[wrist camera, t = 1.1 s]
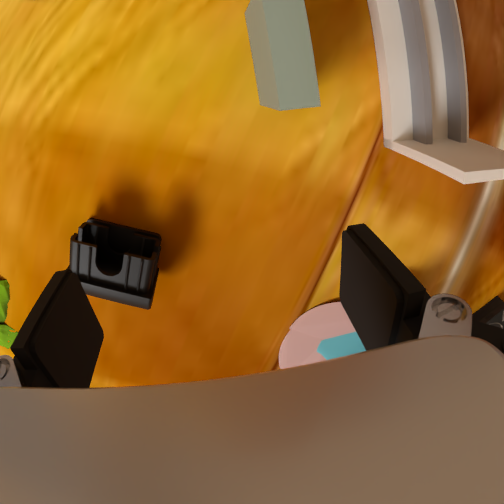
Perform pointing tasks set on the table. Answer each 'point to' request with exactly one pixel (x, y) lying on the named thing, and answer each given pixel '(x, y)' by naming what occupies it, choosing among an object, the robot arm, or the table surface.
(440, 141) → the cabinet base
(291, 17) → the door panel
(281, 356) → the flower arrangement
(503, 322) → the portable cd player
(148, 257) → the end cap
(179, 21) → the table surface
